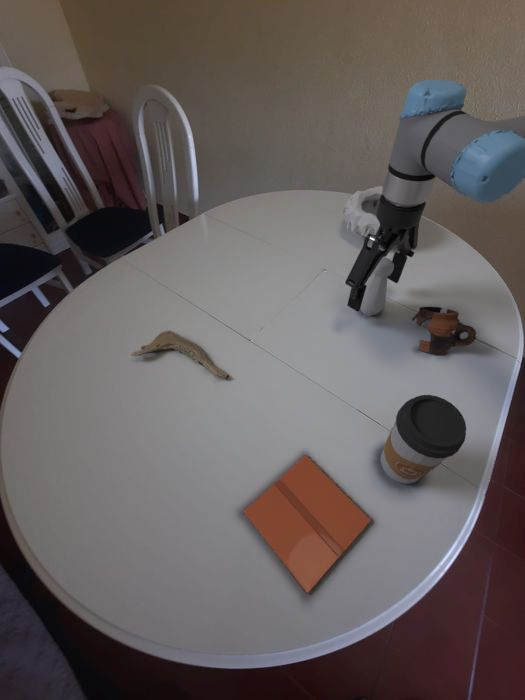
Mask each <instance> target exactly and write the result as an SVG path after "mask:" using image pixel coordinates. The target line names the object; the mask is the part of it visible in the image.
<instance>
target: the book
mask: <svg viewBox="0 0 525 700" xmlns="http://www.w3.org/2000/svg"><path fill="white" fill-rule="evenodd" d="M243 514H245V516H246V517H247V519H248V520H249V521H250V522H251V524H252V525H253V526H254V527H255V529H256V530H257V531H258V533H259V534H260V535H261V536H262V538H263V539H264V540H265V542H266V543H267V544H268V545H269V547H270V548H271V550H272V551H273V552H274V553H275V554H276V556H277V557H278V558H279V559H280V561H281V563H283V565H284V566H285V567H286V568H287V570H288V571H289V572H290V573H291V575H292V576H293V577H294V579H295V580H296V581H297V583H298V584H299V585H300V586H301V588H302V589H303V590H304V591H305V593H306V594H309V593H310V592H311V591H312V589H313V588H314V587H315V586H316V585H317V584H318V582H319V581H321V579H322V578H323V577H324V576H325V574H326V573H327V572H329V570H330V569H331V567H333V565H334V564H335V563H336V561H337V560H339V558H341V556H342V555H343V554H344V552H345V551H346V550H347V549H348V548H349V547H350V546H351V545H352V543H354V541H355V540H356V538H357V537H358V536H360V534H361V533H362V531H364V529H365V528H366V527H367V526H368V525H369V523H370V522H371V520H372V519H370V518H369V517H368V516H367V514H365V512H364V511H362V509H361V508H360V507H358V506H357V504H355V502H354V501H352V500H351V499H350V497H349V496H348V495H346V493H345V492H344V491H343V490H341V488H339V486H337V484H336V483H335V482H334V481H333V480H331V478H330V477H329V476H328V475H327V474H326V473H325V472H324V471H323V470H322V469H321V468H320V467H319V466H318V465H317V464H316V463H315V462H314V461H313V460H312V459H311V458H310V457H309V456H308V455H307V454H305V455H304V456H303V457H302V458H300V459H299V460H298V461H297V462H296V463H295V464H294V465H293V466H291V468H290V469H288V470H287V471H286V472H285V473H284V474H283V475H282V476H281V477H280V478H279V479H277V480H276V482H274V483H273V484H272V485H271V486H270V487H269V488H268V489H267V490H266V491H264V492H263V493H262V494H261V495H260V496H259V497H257V498H256V500H254V502H252V503H251V504H250V505H249V506H248V507H247V508H245V510H244V511H243Z"/></svg>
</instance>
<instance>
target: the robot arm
mask: <svg viewBox="0 0 525 700" xmlns="http://www.w3.org/2000/svg"><path fill="white" fill-rule="evenodd" d="M466 97H467V89H466V87H465V86H464V85H463V84H461V83H460V82H457V81H453V80H446V79H426V80H421V81H418V82H415V84H413V85H412V86H411V87H410V89H409V90H408V92H407V95H406V98H405V101H404V105H403V108H402V110H401V114H400V115H399V122H398V126H397V130H396V134H395V137H394V138H395V139H394V142H393V145H392V150H391V154H390V158H389V161H388V162H389V163H388V166H387V169H386V171H385V178H384V183H383V186H382V187H383V189H382V195H381V196H380V200H379V204H378V207H377V211H376V217H377V219H378V221H379V223H380V227H379V229H378V231H377V233H376V235H371V234H368V235H367V236H366V237H365V239H364V242H363V244H362V248H361V249H360V251H359V254H358V255H357V257H356V259H355V261H354V263H353V265H352V268H351V270H350V271H349V274H348V275H347V278H346V280H345V282H344V284H345V285H346V286H348V287H350V292H349V297H348V300H347V303H346V304H347V307H349V308H351V309H352V310H354V311H355V312H356V313H358V312H360V311H361V309H360V307H361V304H362V300H363V297H364V293H365V290H366V287H367V286H366V283H367V281H368V280H369V278H370V276H371V274H372V273H373V271H374V270H375V268H376V267H377V265H378V263H379V262H380V260H381V259H382V258H383V257H384V258H387V256H388V254H389V253H390V252H391V250H392V248H394V247H396V249H397V251H396V252H394V253H393V256H392V259H391V261H392V262H393V263H394V269H393V272H392V273H391V275H389V276H388V279H387V280H390V281H391V282H394V283H395V284H398V283H399V281H400V279H401V276H402V273H403V270H404V269H405V266H406V263H407V260H408V257H409V258H412V257H414V255H415V251H413V250H416V249H417V247H418V241H419V228H420V222H421V218H422V216H423V213H424V211H425V207H426V205H427V201H428V199H430V195H431V193H432V189H433V187H434V185H435V180H436V178H437V179H439V180H441V181H442V182H443V183H445V184H447V185H448V186H449V187H450V188H452V189H454V190H455V192H457V193H458V194H459V195H463V196H464V197H466V198H467V197H468V198H470V199H472V200H474V201H475V202H478V203H481V204H489V203H494V202H496V201H499V200H500V199H501V198H503V196H504V195H508V194H510V193H511V192H512V191H514V190H515V189H516V188H517V187H518V186H519V184H521V182H522V181H523V180H524V179H525V115H522V116H516V117H515V116H514V117H510V118H504V119H499V120H491V121H488V120H484V119H481V118H479V117H475V116H473V115H470V114H469V113H467V112H466V111H463V110H462V109H463V108H464V107H465V99H466ZM380 248H381V249H380Z"/></svg>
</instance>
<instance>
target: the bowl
mask: <svg viewBox="0 0 525 700" xmlns="http://www.w3.org/2000/svg"><path fill="white" fill-rule="evenodd" d="M382 189H383V186H381V185H380V186H379V185H378V186H375V187H370V188H368V189H366V190H356V192H354V193H353V194H352V196H351V197H349V198H348V200H347V202H346V204H345V205H344V207H343V212H342V214H344V218H343V219H344V221H345V224H347V225H346V231H348V229H349V226H350V230H351V232H355V233H357V234H359V235H361V238H363V237H365V238H366V236H367V235H368V234H371V235H376V233H377V231H378V229H379V227H380V223H379V221H378V219H377V217H376V211H377V207H378V204H379V200H380V196H381V195H382Z"/></svg>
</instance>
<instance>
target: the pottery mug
mask: <svg viewBox="0 0 525 700" xmlns="http://www.w3.org/2000/svg"><path fill="white" fill-rule="evenodd" d="M442 310H443V308H442V307H441V306H421V307H419V308H418V312H417V313H416V314H415V315H413V317H412V319H411V321H412V322H413V321H415V320H416V325H418V326H419V327H421V326H422V325H423V323H426V322H427V321H429V323H428V324H427V326H426V328H427V331H428V332H429V333H430V340H423V339H420V340H419V341H418V350H419V351H421V352H424V353H429V354H434V355H446V354H448V353H449V351H450V350H451V348H453V349H454V348H457V347H466V346H469V345H471V344H473V343H474V342H475V340H477V336H476V335H477V331H476V330H475V328H474V327H473V326H471V325H467V324H463V323H462V322H461V321H460V319H459V318H458V317H459V315H460V313H459V312H458V311H456V310H454V309H451V308H447V309H446V312H441V311H442ZM463 333H467V337H465V338H461V334H463Z"/></svg>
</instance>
